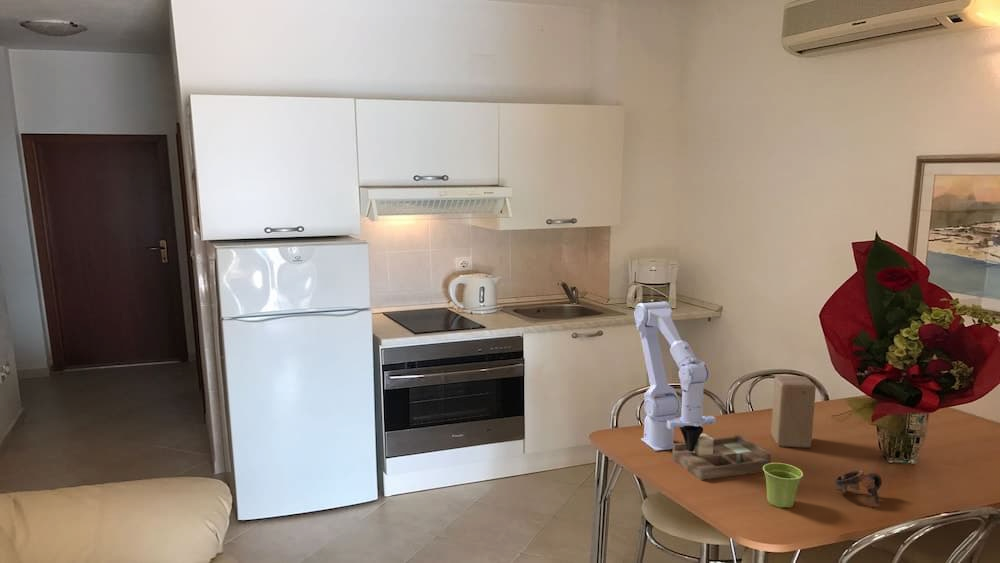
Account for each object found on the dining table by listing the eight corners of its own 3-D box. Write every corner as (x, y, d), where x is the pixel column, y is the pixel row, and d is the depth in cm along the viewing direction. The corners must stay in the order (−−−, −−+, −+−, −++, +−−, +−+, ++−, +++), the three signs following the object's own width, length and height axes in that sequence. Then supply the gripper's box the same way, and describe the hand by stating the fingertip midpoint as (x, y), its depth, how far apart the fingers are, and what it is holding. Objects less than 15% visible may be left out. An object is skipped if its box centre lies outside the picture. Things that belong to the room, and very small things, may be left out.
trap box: (672, 458, 202) (672, 442, 201) (737, 450, 208) (738, 434, 207) (701, 480, 188) (702, 462, 187) (769, 470, 194) (771, 453, 193)
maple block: (690, 449, 201) (691, 435, 200) (703, 448, 202) (704, 433, 201) (698, 455, 196) (699, 440, 196) (712, 454, 198) (713, 439, 197)
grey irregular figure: (865, 513, 171) (849, 481, 172) (838, 513, 179) (823, 483, 181) (898, 493, 175) (882, 462, 176) (870, 493, 184) (855, 464, 185)
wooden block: (812, 449, 209) (816, 385, 206) (777, 447, 211) (781, 383, 208) (803, 436, 219) (807, 375, 216) (769, 435, 220) (773, 374, 217)
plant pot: (806, 502, 175) (808, 469, 174) (792, 515, 168) (795, 482, 167) (769, 491, 182) (771, 459, 180) (755, 503, 175) (757, 471, 173)
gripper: (676, 411, 190) (674, 458, 192) (722, 406, 194) (720, 452, 196) (663, 403, 197) (661, 448, 199) (708, 398, 201) (706, 443, 203)
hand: (690, 450), depth 198 cm, fingers closed
